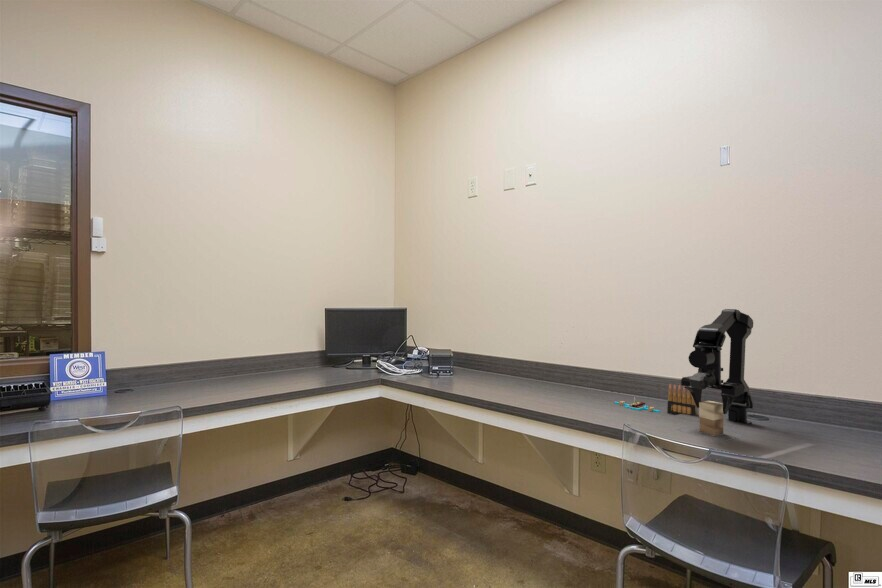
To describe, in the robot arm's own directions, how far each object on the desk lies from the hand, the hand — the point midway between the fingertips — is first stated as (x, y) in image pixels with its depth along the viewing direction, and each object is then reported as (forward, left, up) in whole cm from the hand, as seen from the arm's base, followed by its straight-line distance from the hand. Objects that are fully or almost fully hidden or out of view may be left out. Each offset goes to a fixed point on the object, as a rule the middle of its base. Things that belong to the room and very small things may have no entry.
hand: (711, 410), depth 153 cm
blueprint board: (0, 0, -8) cm, 8 cm away
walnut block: (0, 0, -7) cm, 7 cm away
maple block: (0, 0, -2) cm, 2 cm away
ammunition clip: (-14, -21, -9) cm, 27 cm away
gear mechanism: (-9, -38, -9) cm, 40 cm away
